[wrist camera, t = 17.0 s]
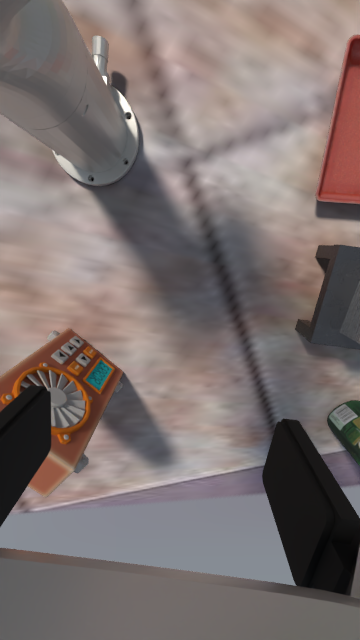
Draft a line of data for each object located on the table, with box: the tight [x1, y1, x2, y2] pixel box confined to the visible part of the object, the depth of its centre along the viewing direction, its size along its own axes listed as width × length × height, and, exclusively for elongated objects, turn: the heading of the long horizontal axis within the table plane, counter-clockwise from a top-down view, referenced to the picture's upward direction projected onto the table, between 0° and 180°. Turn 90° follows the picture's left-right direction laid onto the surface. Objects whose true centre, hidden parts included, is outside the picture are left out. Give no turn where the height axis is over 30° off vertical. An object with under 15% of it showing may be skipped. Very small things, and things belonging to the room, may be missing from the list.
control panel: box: [0, 328, 123, 497], centre depth 36 cm, size 21×7×15 cm
